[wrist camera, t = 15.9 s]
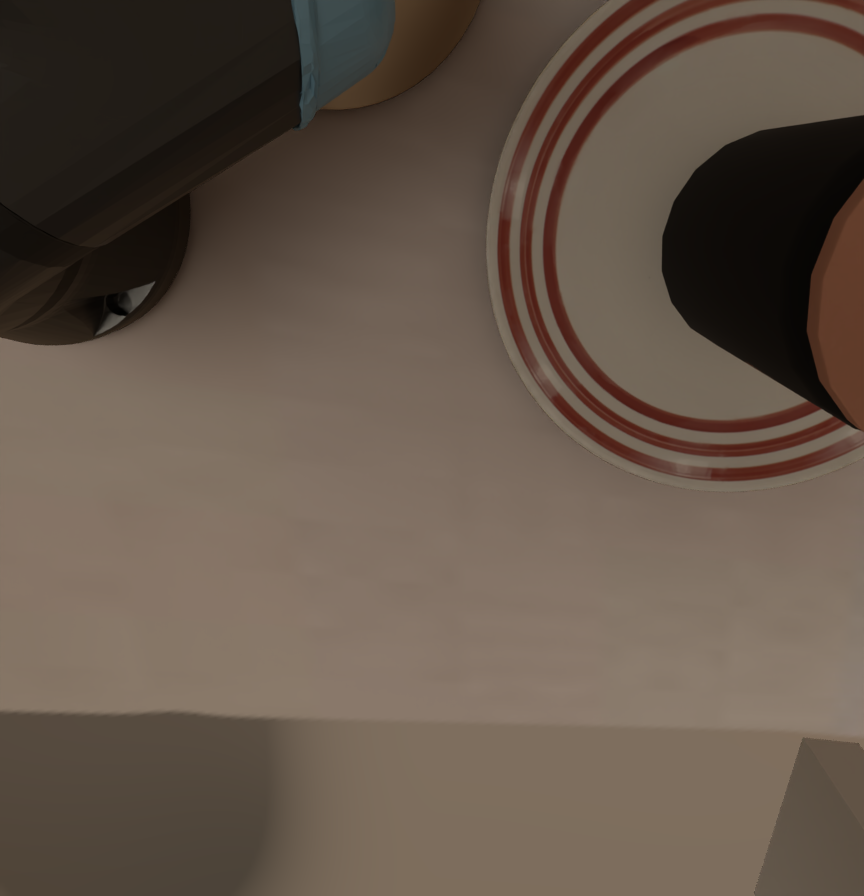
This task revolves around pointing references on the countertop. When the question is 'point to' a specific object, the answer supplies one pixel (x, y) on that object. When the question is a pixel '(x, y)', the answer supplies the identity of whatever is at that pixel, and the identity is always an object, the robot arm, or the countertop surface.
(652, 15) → the dinner plate
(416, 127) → the countertop surface
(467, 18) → the cork trivet
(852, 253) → the coffee jar
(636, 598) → the countertop surface
